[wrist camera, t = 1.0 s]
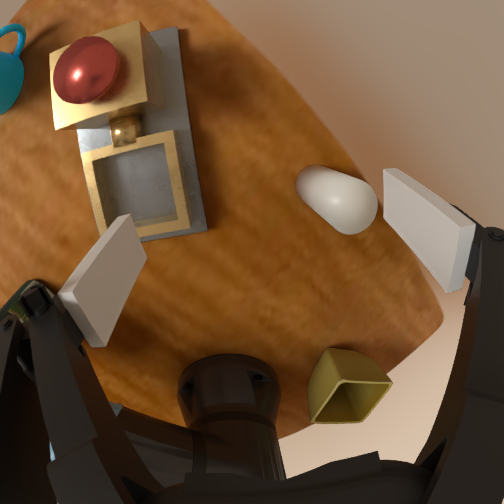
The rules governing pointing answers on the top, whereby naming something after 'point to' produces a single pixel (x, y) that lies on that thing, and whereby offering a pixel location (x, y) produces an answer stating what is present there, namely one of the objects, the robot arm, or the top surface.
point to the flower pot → (345, 387)
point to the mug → (11, 69)
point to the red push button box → (131, 128)
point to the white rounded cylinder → (337, 198)
